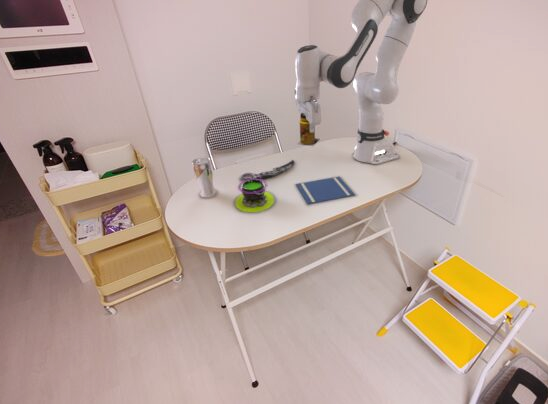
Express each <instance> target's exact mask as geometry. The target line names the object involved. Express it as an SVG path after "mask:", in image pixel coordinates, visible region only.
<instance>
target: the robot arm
mask: <svg viewBox="0 0 548 404" xmlns="http://www.w3.org/2000/svg"><path fill="white" fill-rule="evenodd" d="M427 4H428V0H358V2H357V3H356V4H355V5H354V7H353V9H352V12H351V14H350V23H351V26H352V28H353V30H354V31H355V33H356V37H354V40H353V41H352V43H351V44H350V46H349V47H348V50H347V51H346V52H345V53H344V54H343V55H339V56H338V55H333V54H331V53H328V52H325V51H324V50H322V49H321V48H319V46H318V45H315V44H310V45H309V44H308V45H304V46H302V47H299V49H298V50H297V51H296V56H295V75H296V79H297V80H296V84H295V88H294V89H293V92H294V95H295V104H296V110H297V112H298V113H299V114H300V115H301V113H303V114H304V115H305V116H306V120H307V121H309V124H310V127H309V131H310V132H311V133H312V132H314V127H315V128H316V126H317V125H321V123H322V108H321V104H320V103H319V102H318V100H320V97H321V88H320V87H321V83H322V82H324V83H327V84H329V85H332V86H333V87H335V88H338V89H345V88H346V87H348V86H350V84H351V83H352V88H353V90H354V92H355V94H356V97H357V103H358V109H359V110H358V111H359V118H358V119H359V121H358V128H357V133H356V134H357V135H356V146H355V147H354V153H353V155H352V157H353V158H354V159H355V160H356V161H358V162H362V163H367V164H372V165H380V164H383V163H386V162H390V161H393V160H397V159H399V154H398V152H396V150H395V146H394V145H396V144H397V143H398V142H397V141H394V142H392V141H391V140H389V139H388V138H387V137H388V136H389V135H390V132H389V131H387V130H385V129H383V125H384V118H385V113H384V111H383V109H382V106H381V105H390V104H392V103H393V102H395V100H396V99H397V98H398V96H399V90H400V89H399V88H400V87H399V84H398V72H399V68H400V65H401V63H402V61H403V58H404V56H405V54H406V52H407V50H408V47H409V45H410V43H411V41H412V38H413V35H414V32H415V29H416V23H417V21H418V19H419V18H420V17H421V15H422V14H423V12H424V11H425V9H426V8H427ZM386 16H388V17H391V19H390V23H389V26H387V29H386V31H385V33H384V36H382V40H381V42H380V44H379V47H378V49H377V51H376V53H375V61H376V69H375V73H374V72H371V71H363V72H359V73H358V74H357V71H358V70H359V67H360V65H361V64H362V61H363V60H364V58H365V56H366V55H367V54H368V51H369V50H370V48H371V47H372V44H373V43H374V41H375V39H376V37H377V35H378V31H379V26H380V25H381V23H382V22H383V20H384V19H385V18H386ZM356 74H357V75H356Z"/></svg>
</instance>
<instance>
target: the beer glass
mask: <svg viewBox="0 0 548 404" xmlns="http://www.w3.org/2000/svg"><path fill="white" fill-rule="evenodd" d="M191 164H192V171H193V175H194V178H195V179H196V181H197V184H198V186H199V190H200V191H199V192H200V196H201V197H202V198H207V199H208V198H212V197H214V196H215V195H216V194H217V191H216V189H215V186H214V172H213V171H214V170H213V166H212V163H211V159H210V158H209V157H207V156H198V157H196V158H193V159H192V161H191Z"/></svg>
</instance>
